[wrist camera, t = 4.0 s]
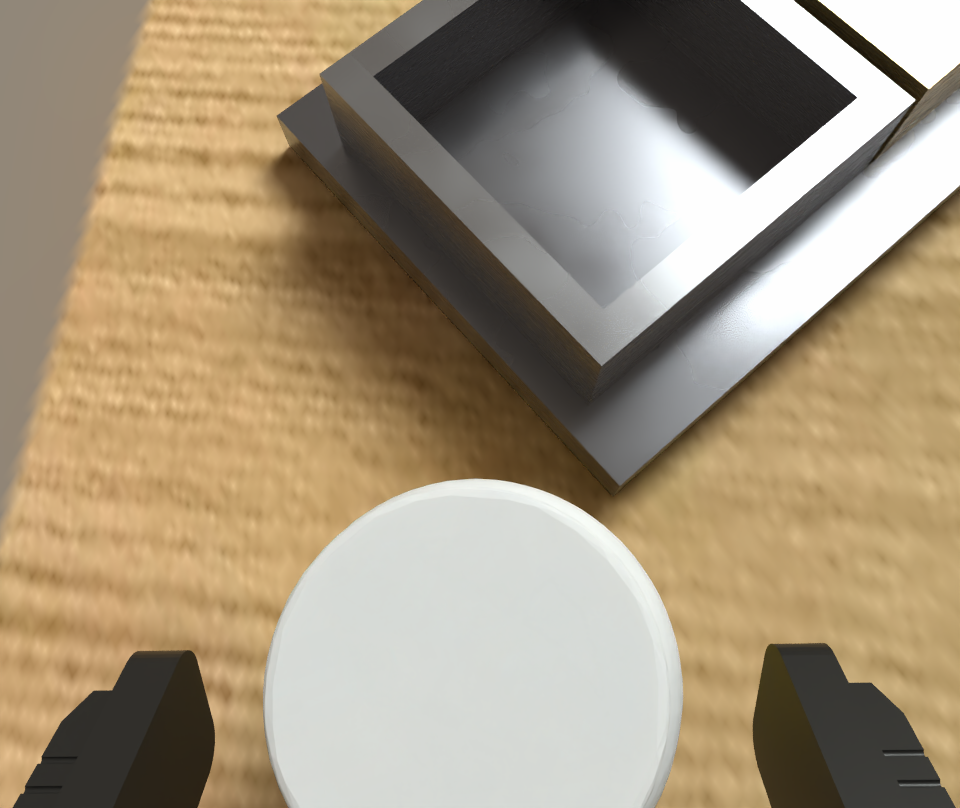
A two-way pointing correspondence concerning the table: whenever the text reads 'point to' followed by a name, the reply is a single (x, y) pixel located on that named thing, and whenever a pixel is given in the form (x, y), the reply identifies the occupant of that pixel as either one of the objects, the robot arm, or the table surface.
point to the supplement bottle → (473, 661)
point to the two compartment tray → (638, 184)
